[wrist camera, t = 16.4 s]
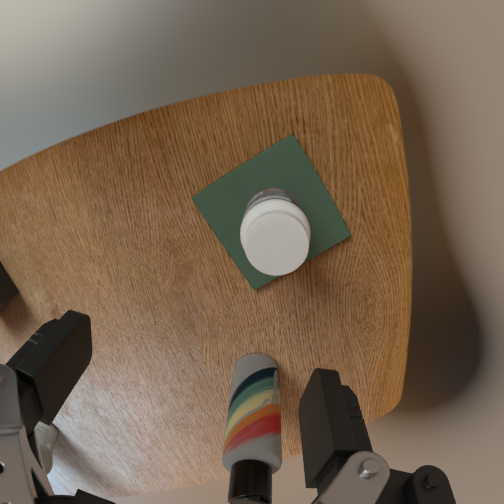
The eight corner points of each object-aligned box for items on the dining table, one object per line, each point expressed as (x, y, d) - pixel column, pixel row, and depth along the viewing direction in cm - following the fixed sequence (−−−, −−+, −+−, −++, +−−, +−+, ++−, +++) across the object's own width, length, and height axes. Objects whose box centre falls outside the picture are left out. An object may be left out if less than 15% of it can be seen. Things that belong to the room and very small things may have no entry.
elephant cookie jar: (-8, 390, 48) (-49, 442, 30) (24, 386, 45) (-24, 451, 27) (36, 441, 52) (4, 495, 35) (74, 444, 50) (41, 509, 32)
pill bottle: (303, 240, 33) (317, 280, 24) (248, 244, 33) (241, 286, 24) (299, 184, 31) (314, 204, 22) (242, 189, 32) (232, 211, 22)
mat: (192, 197, 33) (190, 198, 32) (292, 133, 30) (293, 133, 29) (254, 288, 36) (254, 290, 35) (350, 233, 33) (351, 235, 33)
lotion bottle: (286, 373, 40) (294, 510, 21) (250, 390, 41) (241, 521, 22) (263, 345, 38) (259, 489, 19) (225, 363, 39) (202, 500, 21)
